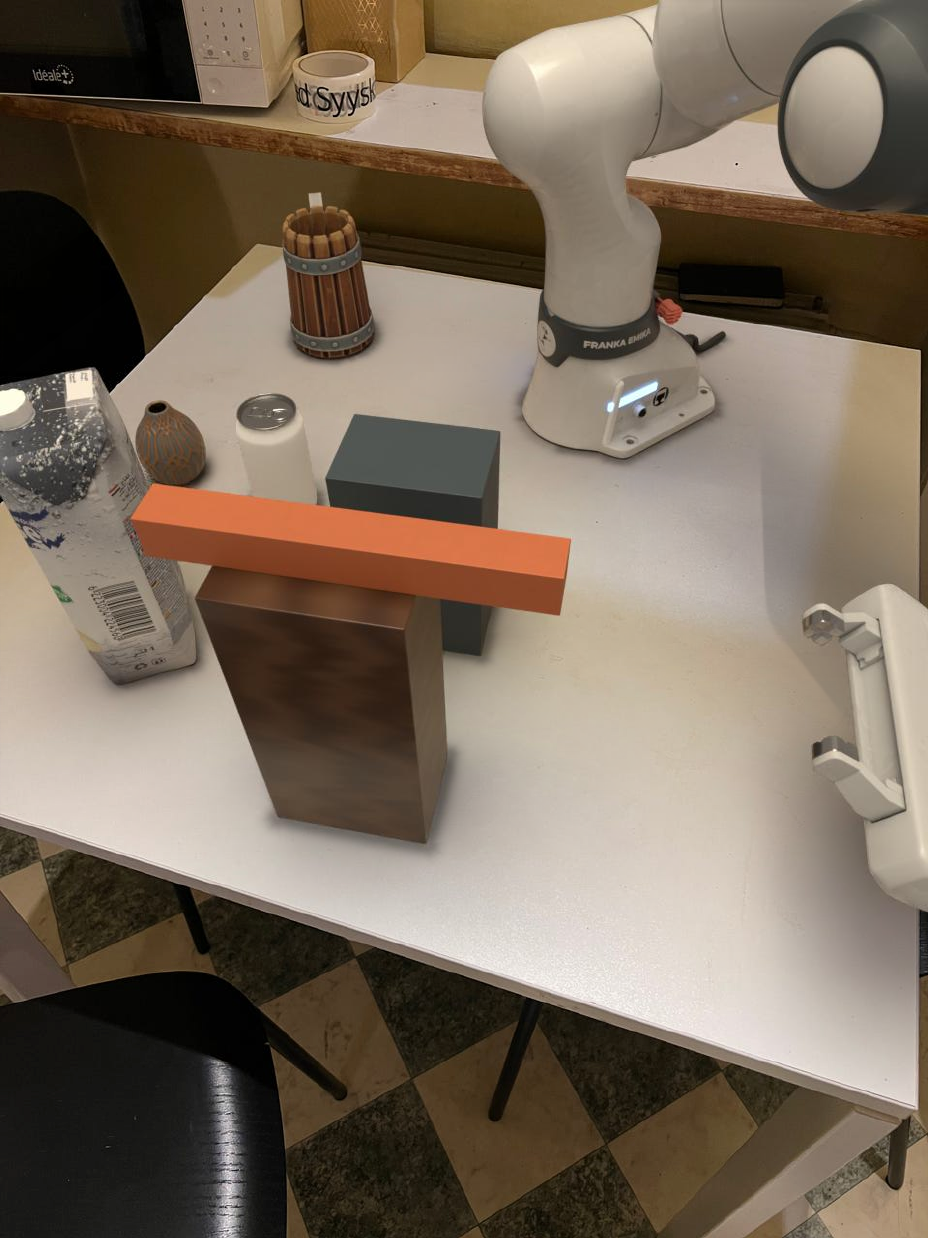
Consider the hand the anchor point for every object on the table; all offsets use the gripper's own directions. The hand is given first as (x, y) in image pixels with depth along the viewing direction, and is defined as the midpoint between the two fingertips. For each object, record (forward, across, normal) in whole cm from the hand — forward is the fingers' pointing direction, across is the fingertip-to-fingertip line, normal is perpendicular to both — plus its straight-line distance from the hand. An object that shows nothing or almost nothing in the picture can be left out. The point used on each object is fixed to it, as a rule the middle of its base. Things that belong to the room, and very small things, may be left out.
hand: (815, 680), depth 49 cm
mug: (+32, -64, +44) cm, 84 cm away
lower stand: (+13, -19, +33) cm, 40 cm away
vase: (+40, -33, +48) cm, 71 cm away
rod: (+25, 0, +10) cm, 27 cm away
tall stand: (+14, 0, +33) cm, 36 cm away
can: (+28, -30, +42) cm, 59 cm away
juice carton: (+34, -11, +45) cm, 57 cm away
